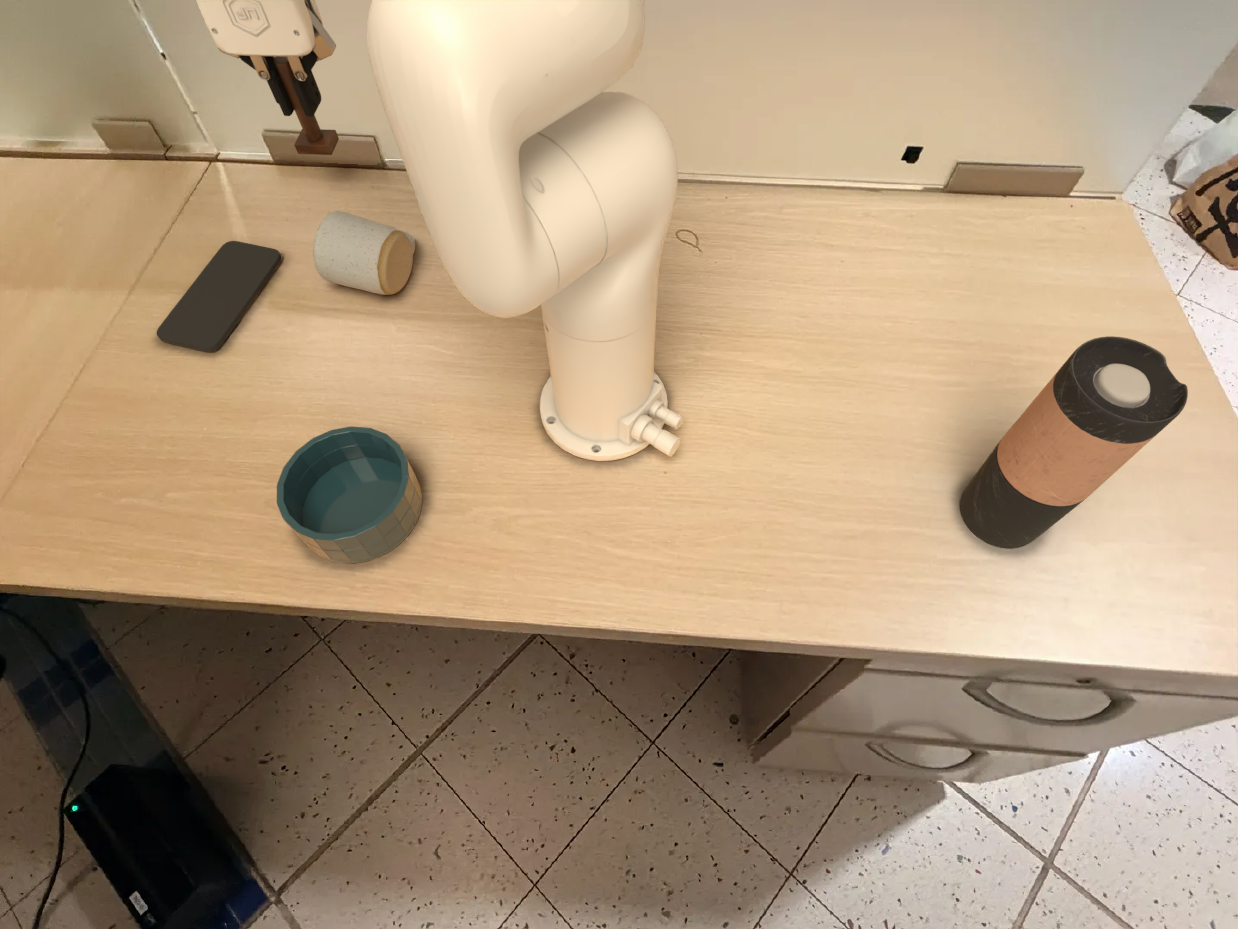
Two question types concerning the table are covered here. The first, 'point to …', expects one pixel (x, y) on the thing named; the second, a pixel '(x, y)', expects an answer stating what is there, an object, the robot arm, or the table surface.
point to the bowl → (350, 494)
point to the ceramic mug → (363, 253)
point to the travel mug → (1072, 439)
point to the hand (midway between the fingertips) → (302, 107)
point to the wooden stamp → (305, 118)
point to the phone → (219, 296)
